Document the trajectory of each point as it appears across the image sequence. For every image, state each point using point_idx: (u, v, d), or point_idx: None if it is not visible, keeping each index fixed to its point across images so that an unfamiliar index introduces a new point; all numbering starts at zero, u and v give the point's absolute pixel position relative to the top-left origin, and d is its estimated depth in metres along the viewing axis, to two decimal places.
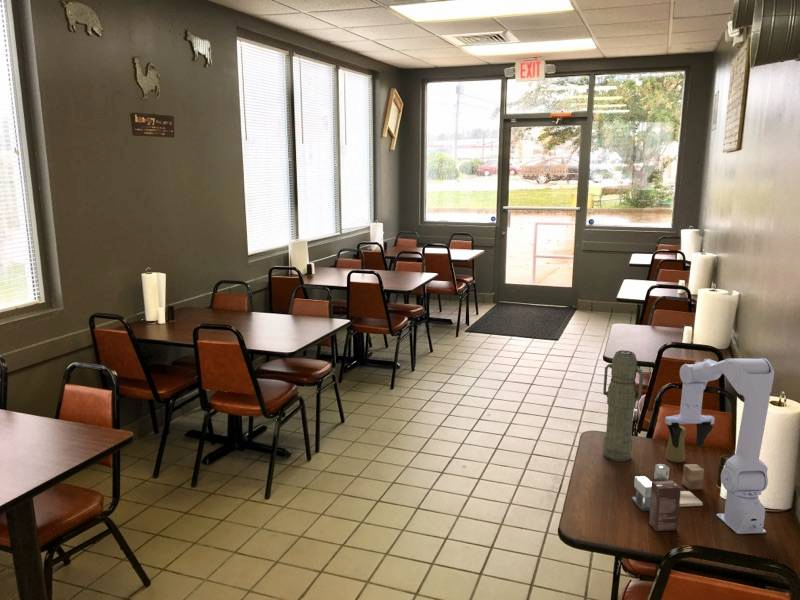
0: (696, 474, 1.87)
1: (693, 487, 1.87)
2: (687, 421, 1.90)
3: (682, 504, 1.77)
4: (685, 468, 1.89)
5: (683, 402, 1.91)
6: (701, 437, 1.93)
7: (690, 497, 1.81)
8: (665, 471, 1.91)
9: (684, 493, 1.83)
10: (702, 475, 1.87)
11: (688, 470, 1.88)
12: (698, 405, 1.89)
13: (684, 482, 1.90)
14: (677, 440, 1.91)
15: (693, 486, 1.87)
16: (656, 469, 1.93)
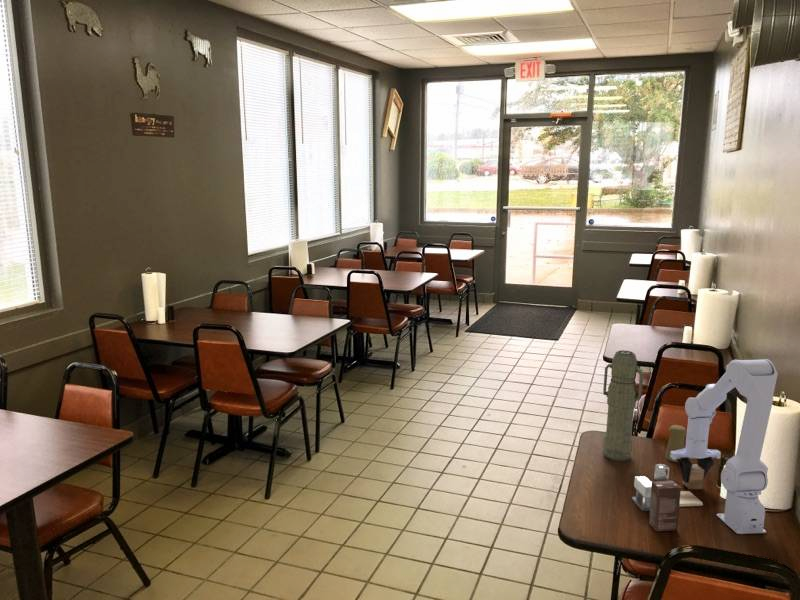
0: (696, 474, 1.87)
1: (693, 487, 1.87)
2: (693, 456, 1.85)
3: (682, 504, 1.77)
4: None
5: (689, 437, 1.86)
6: None
7: (690, 497, 1.81)
8: (665, 471, 1.91)
9: (684, 493, 1.83)
10: (702, 475, 1.87)
11: None
12: (704, 440, 1.84)
13: (684, 482, 1.90)
14: (687, 475, 1.87)
15: (693, 486, 1.87)
16: (656, 469, 1.93)
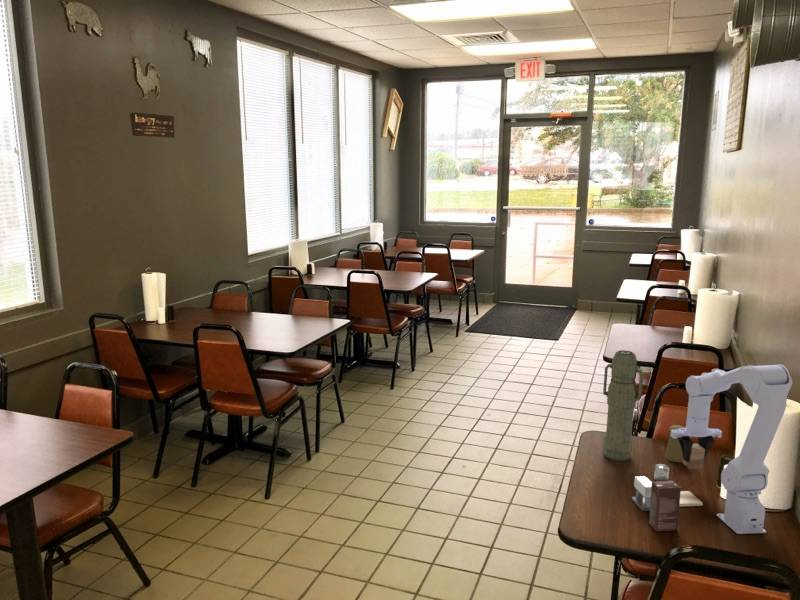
0: (697, 454, 1.85)
1: (694, 466, 1.85)
2: (693, 435, 1.83)
3: (682, 504, 1.77)
4: None
5: (690, 415, 1.84)
6: None
7: (690, 497, 1.81)
8: (665, 471, 1.91)
9: (684, 493, 1.83)
10: (703, 454, 1.85)
11: None
12: (706, 418, 1.82)
13: (685, 461, 1.88)
14: (688, 454, 1.85)
15: (694, 465, 1.85)
16: (656, 469, 1.93)
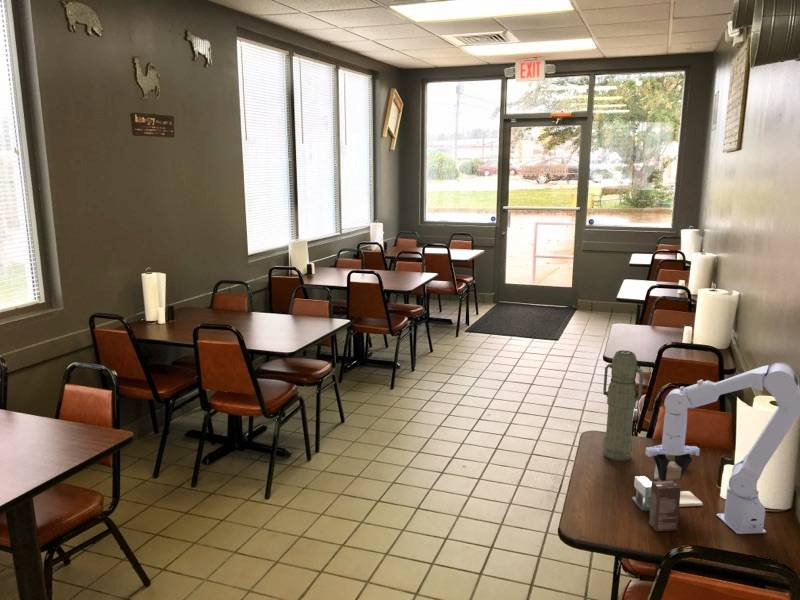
0: (673, 473, 1.75)
1: None
2: (669, 453, 1.73)
3: (682, 504, 1.77)
4: None
5: (674, 435, 1.72)
6: None
7: (690, 497, 1.81)
8: None
9: (684, 493, 1.83)
10: (679, 473, 1.75)
11: None
12: (685, 433, 1.74)
13: None
14: (664, 473, 1.75)
15: None
16: (656, 469, 1.93)
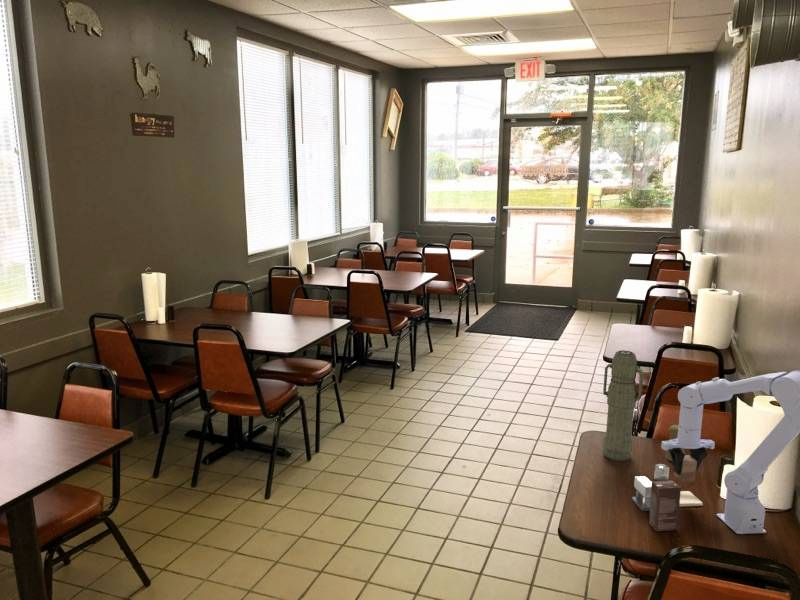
0: (689, 466, 1.77)
1: (685, 479, 1.77)
2: (685, 446, 1.75)
3: (682, 504, 1.77)
4: None
5: (686, 428, 1.75)
6: None
7: (690, 497, 1.81)
8: (665, 471, 1.91)
9: (684, 493, 1.83)
10: (695, 466, 1.77)
11: None
12: (700, 428, 1.75)
13: (676, 474, 1.80)
14: (680, 467, 1.77)
15: (685, 478, 1.77)
16: (656, 469, 1.93)
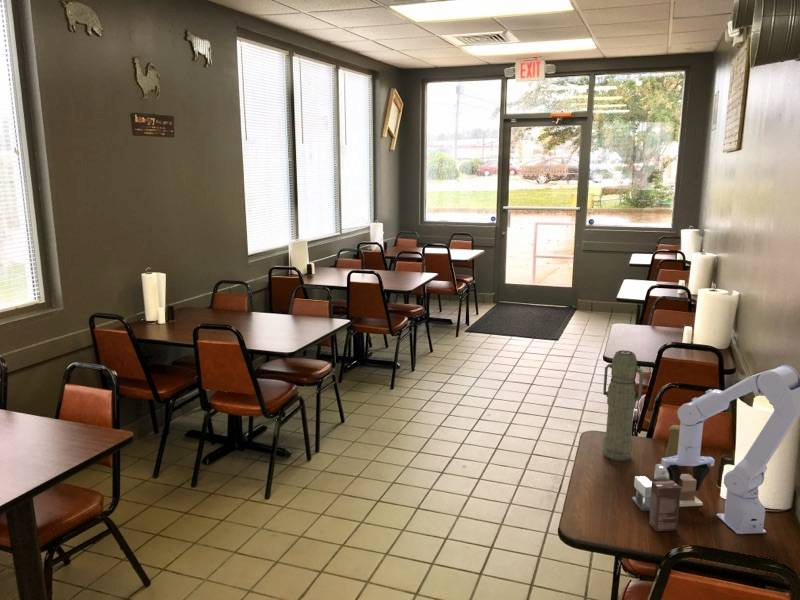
0: (688, 485, 1.78)
1: (685, 498, 1.79)
2: (685, 464, 1.76)
3: (682, 504, 1.77)
4: None
5: (685, 445, 1.76)
6: (698, 480, 1.79)
7: None
8: (665, 471, 1.91)
9: None
10: (694, 486, 1.78)
11: (680, 480, 1.79)
12: (700, 445, 1.76)
13: None
14: (677, 483, 1.78)
15: (685, 497, 1.79)
16: (656, 469, 1.93)
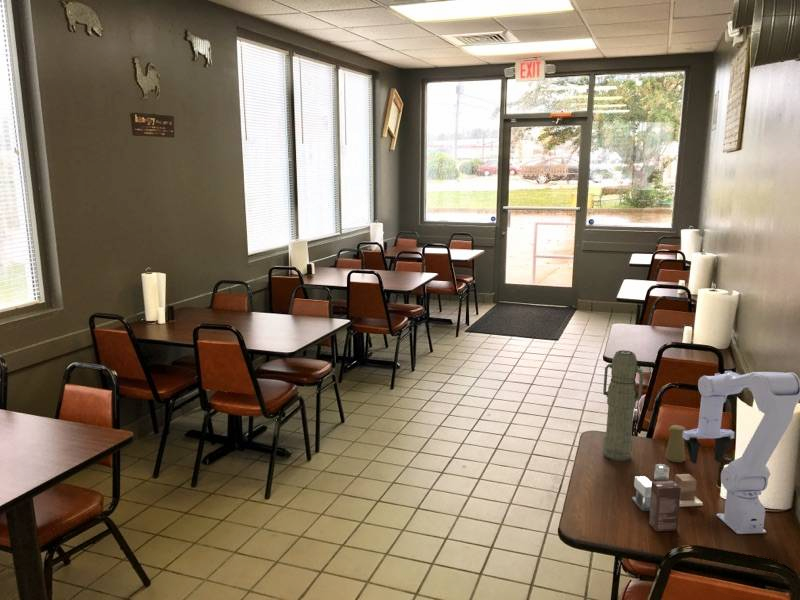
0: (688, 485, 1.78)
1: (685, 498, 1.79)
2: (706, 436, 1.80)
3: (682, 504, 1.77)
4: (677, 478, 1.81)
5: (702, 416, 1.81)
6: (720, 452, 1.83)
7: None
8: (665, 471, 1.91)
9: None
10: (694, 486, 1.78)
11: (680, 480, 1.79)
12: (718, 419, 1.79)
13: None
14: (695, 456, 1.82)
15: (685, 497, 1.79)
16: (656, 469, 1.93)
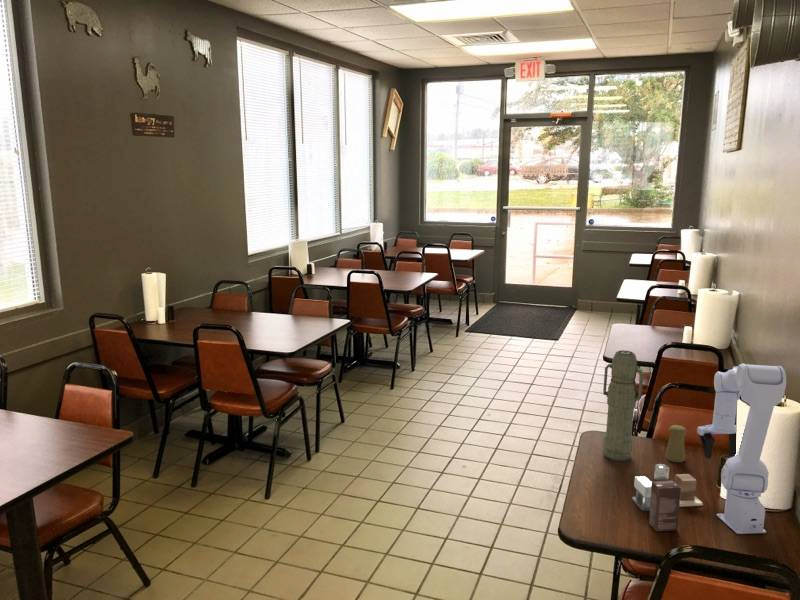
0: (688, 485, 1.78)
1: (685, 498, 1.79)
2: (720, 431, 1.83)
3: (682, 504, 1.77)
4: (677, 478, 1.81)
5: (715, 411, 1.85)
6: (734, 448, 1.86)
7: None
8: (665, 471, 1.91)
9: None
10: (694, 486, 1.78)
11: (680, 480, 1.79)
12: (729, 415, 1.82)
13: None
14: (710, 451, 1.85)
15: (685, 497, 1.79)
16: (656, 469, 1.93)
